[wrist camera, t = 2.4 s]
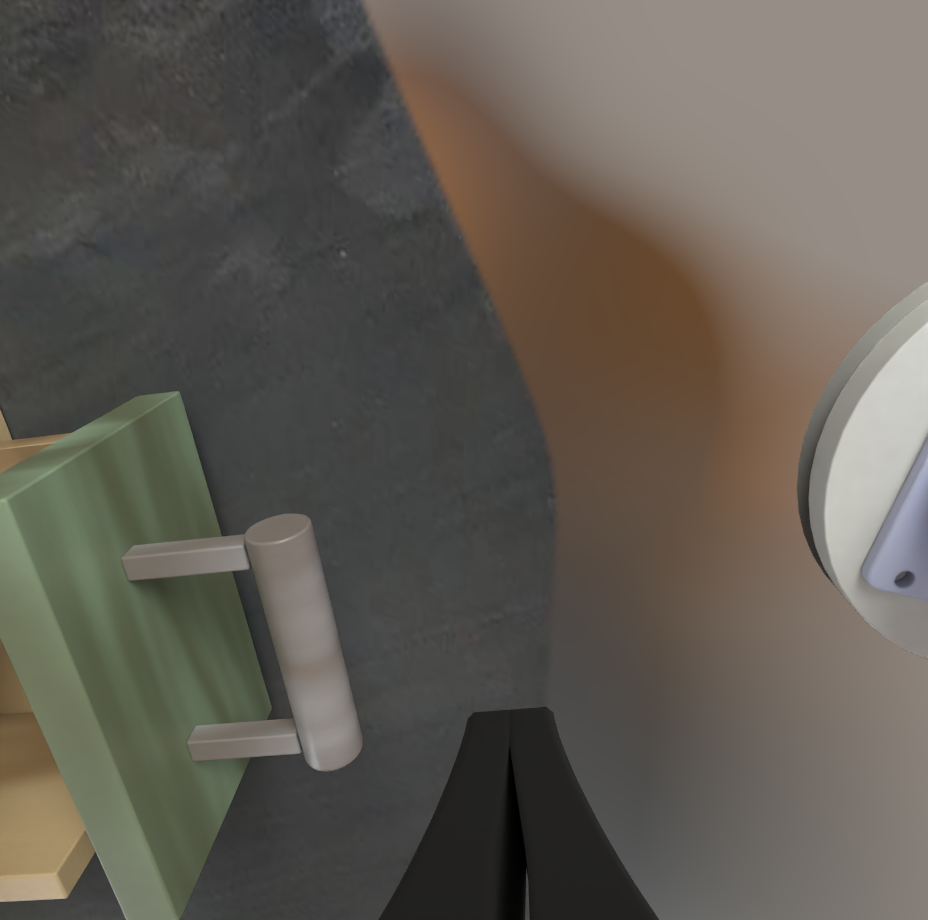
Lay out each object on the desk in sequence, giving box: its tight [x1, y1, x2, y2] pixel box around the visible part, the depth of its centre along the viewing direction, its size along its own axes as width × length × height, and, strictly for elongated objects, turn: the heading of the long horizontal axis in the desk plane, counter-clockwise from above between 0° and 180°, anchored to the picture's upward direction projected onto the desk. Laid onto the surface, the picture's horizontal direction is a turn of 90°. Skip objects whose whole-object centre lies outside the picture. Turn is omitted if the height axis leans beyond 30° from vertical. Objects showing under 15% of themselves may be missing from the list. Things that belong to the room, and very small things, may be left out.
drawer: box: [0, 391, 363, 920], centre depth 17 cm, size 17×10×7 cm, turn 98°
